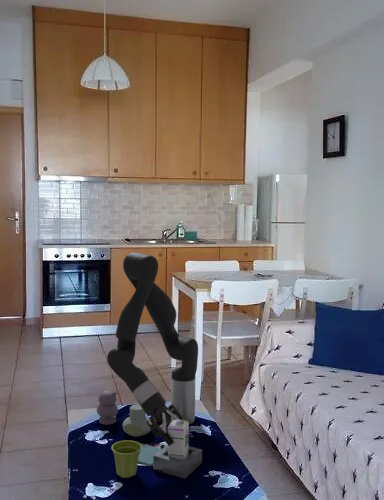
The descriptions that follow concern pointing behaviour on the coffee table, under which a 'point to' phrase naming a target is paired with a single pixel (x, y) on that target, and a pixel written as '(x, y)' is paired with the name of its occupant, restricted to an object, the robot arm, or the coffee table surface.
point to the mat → (147, 454)
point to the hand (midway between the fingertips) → (178, 439)
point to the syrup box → (179, 439)
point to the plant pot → (126, 457)
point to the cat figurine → (107, 407)
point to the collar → (177, 462)
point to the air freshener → (136, 422)
